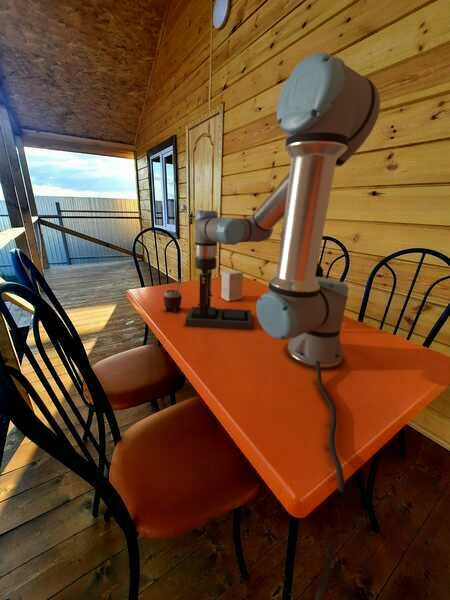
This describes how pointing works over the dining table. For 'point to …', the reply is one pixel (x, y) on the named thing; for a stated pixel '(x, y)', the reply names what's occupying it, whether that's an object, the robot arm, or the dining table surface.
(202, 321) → the frame
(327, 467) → the dining table surface
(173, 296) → the mate gourd
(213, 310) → the pad
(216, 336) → the dining table surface
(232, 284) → the small box
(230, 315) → the pad
